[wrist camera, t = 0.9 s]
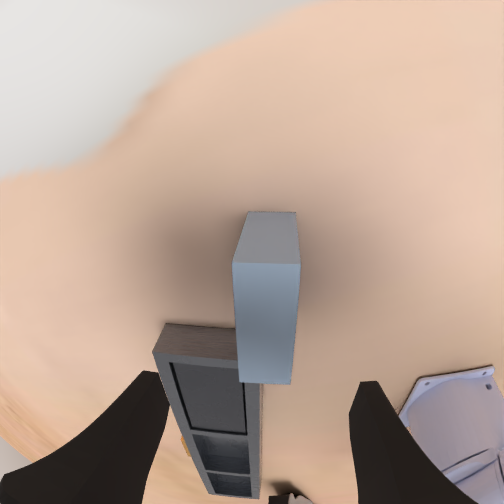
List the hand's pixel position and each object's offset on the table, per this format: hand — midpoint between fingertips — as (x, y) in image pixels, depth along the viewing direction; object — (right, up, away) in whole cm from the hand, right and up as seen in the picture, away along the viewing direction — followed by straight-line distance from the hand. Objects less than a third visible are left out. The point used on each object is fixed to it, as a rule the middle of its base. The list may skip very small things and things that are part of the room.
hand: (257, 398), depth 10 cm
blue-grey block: (+1, +4, +8) cm, 10 cm away
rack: (-3, -14, +18) cm, 22 cm away
